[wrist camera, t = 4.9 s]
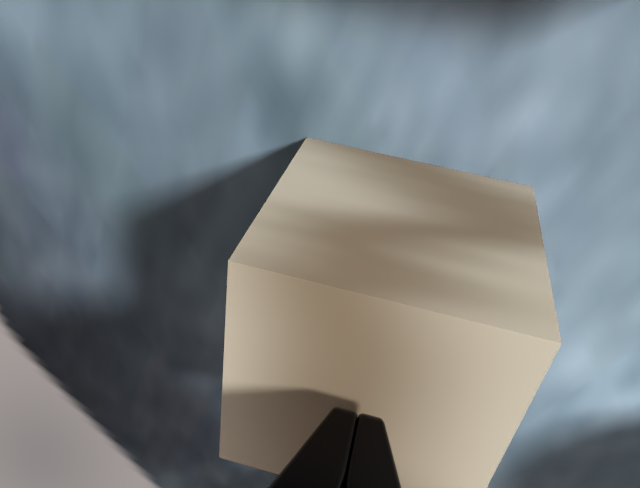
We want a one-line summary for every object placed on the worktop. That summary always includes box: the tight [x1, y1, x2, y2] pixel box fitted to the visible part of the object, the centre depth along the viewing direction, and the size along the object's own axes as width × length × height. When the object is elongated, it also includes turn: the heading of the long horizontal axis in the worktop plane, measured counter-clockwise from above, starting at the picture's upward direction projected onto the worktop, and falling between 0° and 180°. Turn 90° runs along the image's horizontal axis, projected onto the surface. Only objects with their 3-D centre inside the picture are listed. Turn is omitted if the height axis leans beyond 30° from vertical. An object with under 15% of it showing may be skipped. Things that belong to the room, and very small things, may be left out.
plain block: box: [219, 138, 562, 488], centre depth 12 cm, size 5×5×5 cm
